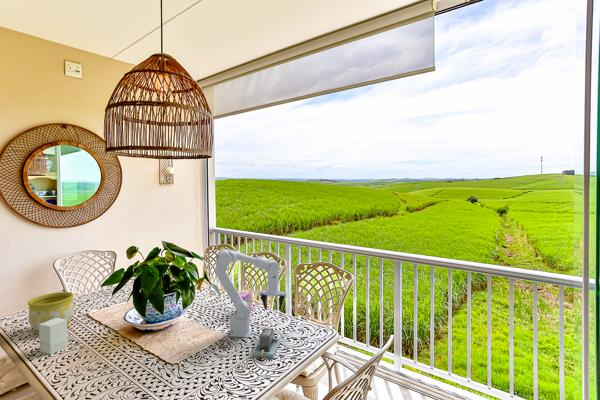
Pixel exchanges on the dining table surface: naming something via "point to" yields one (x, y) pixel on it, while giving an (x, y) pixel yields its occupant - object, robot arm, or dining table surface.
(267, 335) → the block
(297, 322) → the dining table surface
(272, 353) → the pin tray
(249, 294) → the box
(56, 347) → the supplement box
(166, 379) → the dining table surface
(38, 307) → the flowerpot
